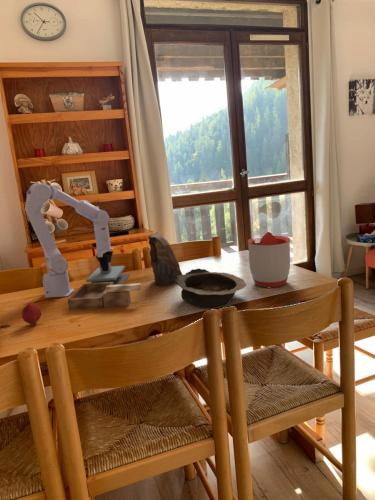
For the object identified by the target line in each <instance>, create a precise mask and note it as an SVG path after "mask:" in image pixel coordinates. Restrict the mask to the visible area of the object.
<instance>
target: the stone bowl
mask: <svg viewBox="0 0 375 500" xmlns="http://www.w3.org/2000/svg"><path fill="white" fill-rule="evenodd" d="M174 281H175V283H174V284H176V285H178V286H179V287H180V289H181V293H180V294H181V299H182V300H183V301H190V302H192V303H193V304H194V306H195V307H197V308H201V309H206V308H215V307H217V306H223V305H224V306H225V305H228V304H229V303H230V302H231V301H232V300H233V297H234V296H235V293H237V292H239V291H241V290H242V289H244V288H246V286H247V282H246V281H245V280H244V279H243V278H242V277H239V276H236V275H234V274H232V273H227V272H219V271H218V272H217V271H216V272H215V271H214V272H213V271H212V272H211V271H209V270H206V269H205V268H195V269H193V268H192V269H190V271H188V272H186V273H185V274H183V275H177V277H176V278H174Z"/></svg>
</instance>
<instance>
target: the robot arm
mask: <svg viewBox="0 0 375 500" xmlns="http://www.w3.org/2000/svg"><path fill="white" fill-rule="evenodd" d="M49 200H57V201H59V202H62V203H64V204H66V205H68V206H70V207H72V208H74V211H75V213H77V214H79V215H81V216H82V217H84V218H87V219H88V220H91V222H92V223H93V230H94V237H95V244H96V255H95V258H96V260H97V261H98V262H99V264H100V265H101V267H102V270H103V271H108V268H109V264H108V263H109V262H111V263H112V257H113V254H114V249H115V248H114V247H112V246H111V238H110V231H109V224H108V222H109V220H110V215H109V214H108V212H107V211H106V210H103V209H100V207H99V206H98V205H96V206H95V205H93V204H92V203H90V201H89V200H88V199H85V200H84V199H80V200H78V199H76V198H74V197H73V196H71V195H69V194H67V193H65V192H64V191H63V190H61V189H59V188H57V187H54V186H53V185H49V184H47V183H43V182H42V183H41V182H39V183H38V182H36V183H33V184H31V185H30V186H29V188H28V190H27V191H26V199H25V206H24V207H25V208H24V210H25V213H26V215H27V218H28V219H29V222H30V223H31V224H30V225H31V226H32V229H33V231H34V233H35V234H36V237H37V239H38V242H39V243H40V246H41V247H42V250H43V255H44V257H45V266H46V267H47V268H48V269H49V270H48V271H47V273H44V274H43V276H42V285H43V292H44V296H43V297H44V298H46V299H48V298H62V297H63V298H65V297H68V296H70V295H72V293H73V292H75V289H74V288H71V284H70V279H69V272H68V269H69V263H68V261H67V259H65V257H63V255H62V253H61V252H60V250H59V249H58V247H57V245H56V243H55V240H54V237H53V235H52V233H51V232H50V228H49V227H48V225H47V222H46V221H45V218H44V216H43V213H42V208H43V207H44V205H45V203H46V202H47V201H49ZM100 265H99V266H100Z"/></svg>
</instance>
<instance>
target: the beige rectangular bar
mask: <svg viewBox="0 0 375 500" xmlns="http://www.w3.org/2000/svg"><path fill="white" fill-rule="evenodd" d="M141 290H142V284H141V283H140V282H138V283H124V284H119V285H107V286H106V292H122V291H130V292H136V291H137V292H138V291H141Z"/></svg>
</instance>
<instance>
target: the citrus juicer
mask: <svg viewBox="0 0 375 500" xmlns="http://www.w3.org/2000/svg"><path fill="white" fill-rule="evenodd" d="M247 243H248V244H247V245H248V261H249V263H248V264H249V270H250V274H251V276H252V280H253V283H254V284H255V285H256V286H259V287H262V288H266V287H271V288H276V287H280V286H284V285H286V283H287V281H288V279H289V274H290V269H291V248H290V247H291V245H290V244H291V238H290V237H288V236H284V235H274V234H273V233H271V232H270V231H266V233H264V235H263V236H262V237H261V239H260V240H259V242H258V241H257V242H256V240H255V239H253V238H249V239H247Z"/></svg>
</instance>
